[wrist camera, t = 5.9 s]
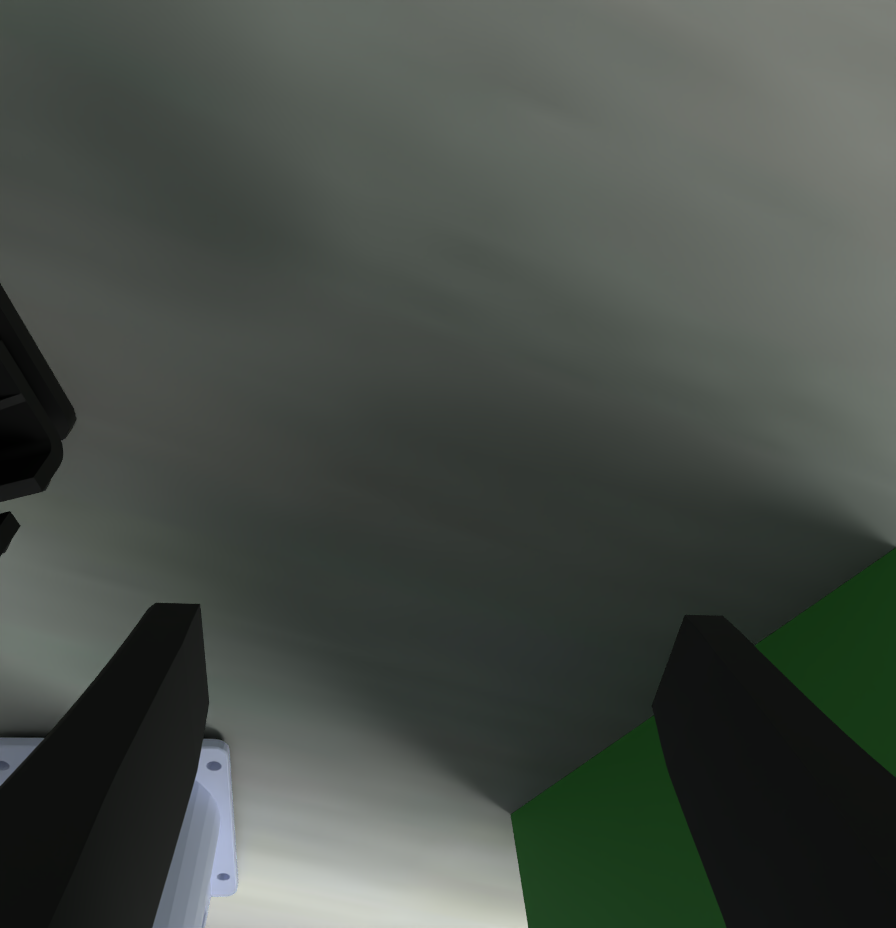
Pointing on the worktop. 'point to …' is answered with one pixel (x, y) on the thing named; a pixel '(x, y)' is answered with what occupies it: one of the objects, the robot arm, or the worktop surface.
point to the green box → (652, 793)
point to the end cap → (27, 417)
